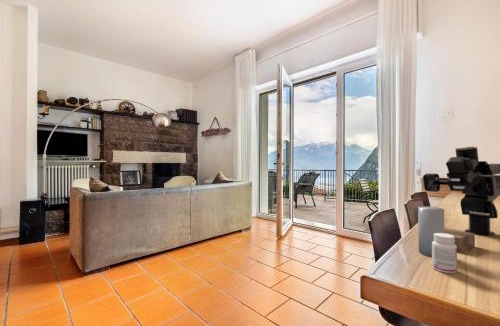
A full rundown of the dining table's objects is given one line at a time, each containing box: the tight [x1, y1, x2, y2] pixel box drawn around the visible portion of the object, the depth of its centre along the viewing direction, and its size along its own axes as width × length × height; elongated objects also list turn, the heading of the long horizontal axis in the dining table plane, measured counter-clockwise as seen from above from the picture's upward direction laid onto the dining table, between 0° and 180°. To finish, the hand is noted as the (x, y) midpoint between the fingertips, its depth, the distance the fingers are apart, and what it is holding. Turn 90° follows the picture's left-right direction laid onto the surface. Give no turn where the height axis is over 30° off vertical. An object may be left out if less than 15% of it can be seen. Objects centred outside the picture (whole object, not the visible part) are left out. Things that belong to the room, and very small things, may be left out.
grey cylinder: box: [417, 206, 445, 258], centre depth 69 cm, size 6×6×13 cm
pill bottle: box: [431, 233, 458, 274], centre depth 59 cm, size 5×5×8 cm
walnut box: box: [444, 227, 476, 253], centre depth 77 cm, size 10×10×4 cm
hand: (444, 190), depth 77 cm, fingers open, 9 cm apart
